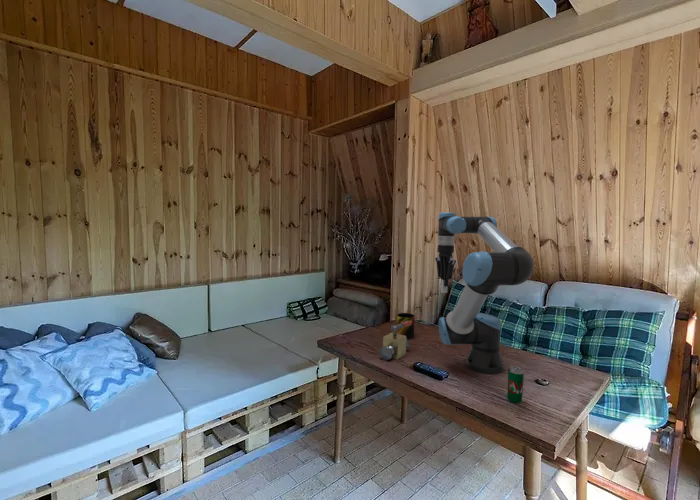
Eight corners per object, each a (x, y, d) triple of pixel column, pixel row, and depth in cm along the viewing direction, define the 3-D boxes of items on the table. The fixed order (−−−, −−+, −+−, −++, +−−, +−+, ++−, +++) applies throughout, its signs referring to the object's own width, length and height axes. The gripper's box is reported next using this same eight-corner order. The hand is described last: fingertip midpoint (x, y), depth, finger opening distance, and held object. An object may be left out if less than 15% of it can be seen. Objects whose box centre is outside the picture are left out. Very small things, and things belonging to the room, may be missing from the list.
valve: (396, 347, 174) (396, 330, 173) (410, 351, 169) (410, 333, 168) (377, 357, 160) (378, 339, 159) (392, 362, 155) (392, 343, 154)
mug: (400, 330, 200) (400, 310, 199) (417, 337, 189) (418, 316, 188) (388, 333, 194) (388, 312, 193) (405, 340, 183) (405, 318, 182)
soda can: (517, 396, 126) (519, 365, 125) (525, 404, 121) (527, 371, 120) (504, 396, 126) (505, 365, 125) (511, 404, 121) (512, 371, 120)
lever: (395, 337, 161) (395, 327, 161) (389, 335, 164) (389, 326, 163) (412, 330, 171) (412, 321, 170) (406, 329, 173) (406, 320, 173)
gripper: (431, 243, 169) (429, 290, 171) (448, 245, 157) (446, 296, 159) (443, 243, 172) (442, 289, 174) (461, 245, 160) (459, 294, 162)
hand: (444, 292), depth 167 cm, fingers closed
